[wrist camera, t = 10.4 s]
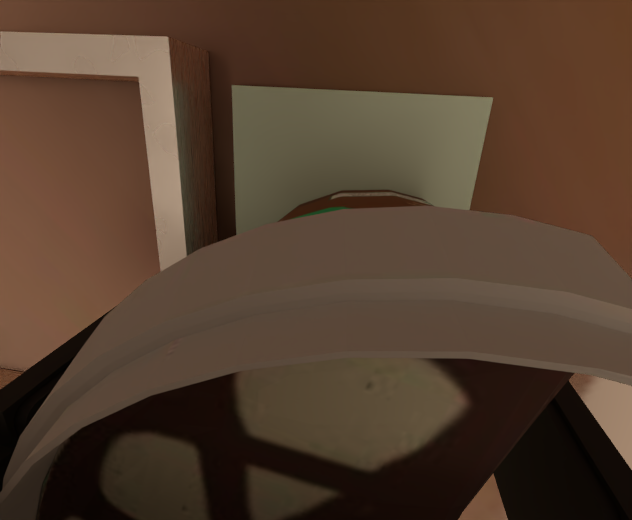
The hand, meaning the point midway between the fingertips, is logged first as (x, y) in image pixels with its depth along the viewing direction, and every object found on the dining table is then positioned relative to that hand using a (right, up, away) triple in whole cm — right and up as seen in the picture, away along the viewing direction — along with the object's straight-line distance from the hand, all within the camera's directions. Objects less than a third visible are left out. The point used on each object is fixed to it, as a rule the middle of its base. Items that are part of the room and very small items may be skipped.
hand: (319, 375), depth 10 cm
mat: (+1, +2, +5) cm, 5 cm away
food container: (-1, +2, +4) cm, 5 cm away
